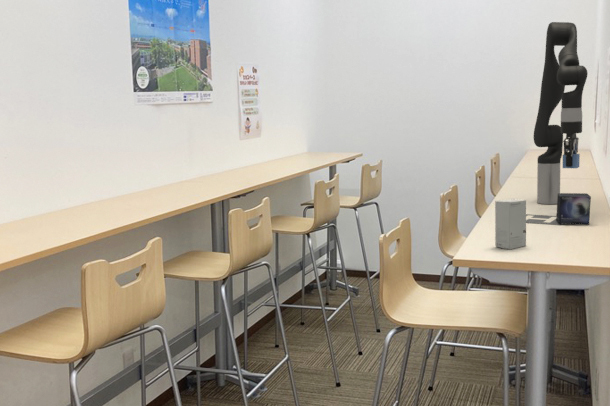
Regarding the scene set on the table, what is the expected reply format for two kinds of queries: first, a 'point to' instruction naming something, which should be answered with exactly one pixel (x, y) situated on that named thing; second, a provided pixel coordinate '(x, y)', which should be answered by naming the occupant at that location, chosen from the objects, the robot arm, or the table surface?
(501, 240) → the skincare box
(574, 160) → the blue cube
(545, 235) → the table surface
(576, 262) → the table surface
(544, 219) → the letter board
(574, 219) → the small box
